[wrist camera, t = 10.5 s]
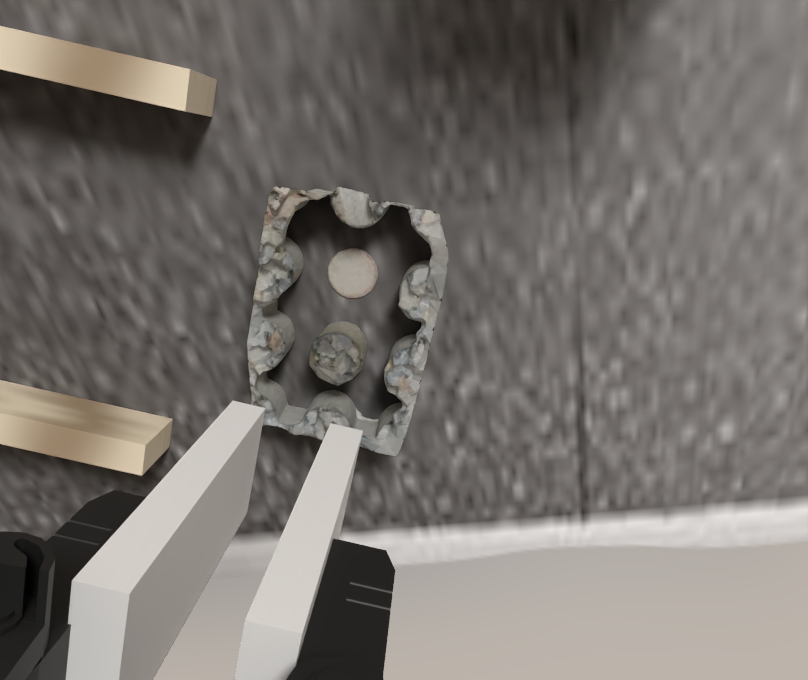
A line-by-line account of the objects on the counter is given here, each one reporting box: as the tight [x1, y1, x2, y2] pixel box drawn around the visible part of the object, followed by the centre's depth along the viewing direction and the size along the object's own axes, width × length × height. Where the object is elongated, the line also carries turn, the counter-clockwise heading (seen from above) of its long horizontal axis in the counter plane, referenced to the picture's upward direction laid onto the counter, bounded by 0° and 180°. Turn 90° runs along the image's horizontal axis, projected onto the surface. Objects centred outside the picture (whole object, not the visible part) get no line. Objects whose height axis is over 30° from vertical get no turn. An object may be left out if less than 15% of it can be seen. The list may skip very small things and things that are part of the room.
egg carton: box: [247, 187, 448, 456], centre depth 27 cm, size 11×8×4 cm
